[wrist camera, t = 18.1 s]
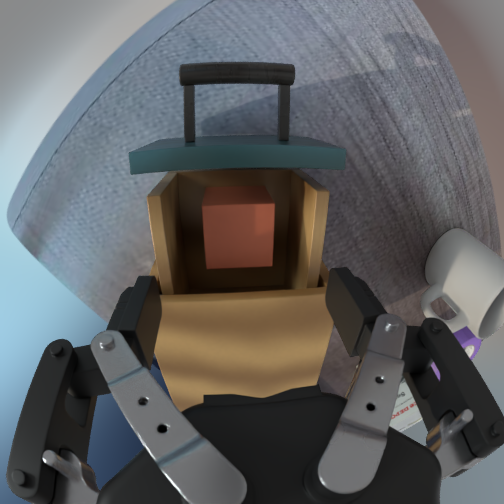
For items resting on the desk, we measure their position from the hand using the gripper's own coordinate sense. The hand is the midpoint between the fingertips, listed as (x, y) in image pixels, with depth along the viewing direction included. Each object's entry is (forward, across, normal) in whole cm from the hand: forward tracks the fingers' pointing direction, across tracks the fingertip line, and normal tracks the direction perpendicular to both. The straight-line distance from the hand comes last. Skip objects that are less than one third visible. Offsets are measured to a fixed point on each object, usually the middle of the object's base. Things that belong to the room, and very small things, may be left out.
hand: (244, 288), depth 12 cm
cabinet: (+12, 0, +10) cm, 16 cm away
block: (+10, 0, 0) cm, 10 cm away
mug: (+12, -25, +7) cm, 29 cm away
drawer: (+11, 0, -2) cm, 11 cm away
